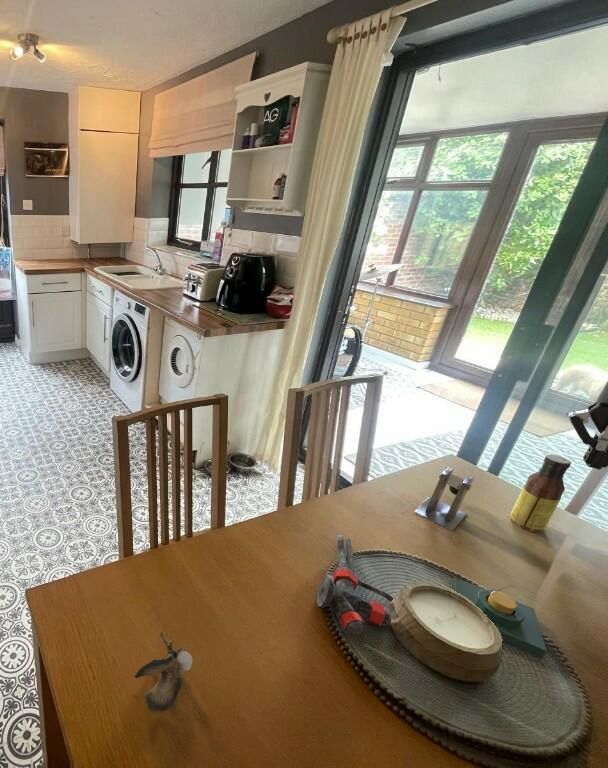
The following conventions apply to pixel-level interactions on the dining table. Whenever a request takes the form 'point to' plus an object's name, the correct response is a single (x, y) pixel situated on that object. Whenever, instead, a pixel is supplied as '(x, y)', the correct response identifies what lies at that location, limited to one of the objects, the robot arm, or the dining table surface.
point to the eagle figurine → (165, 677)
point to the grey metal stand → (441, 511)
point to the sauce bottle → (540, 495)
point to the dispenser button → (502, 602)
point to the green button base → (507, 620)
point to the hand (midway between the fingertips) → (592, 466)
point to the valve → (350, 595)
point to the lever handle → (454, 483)
